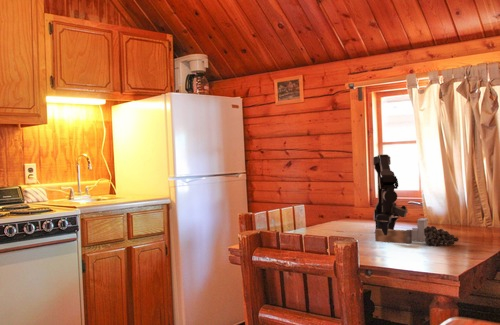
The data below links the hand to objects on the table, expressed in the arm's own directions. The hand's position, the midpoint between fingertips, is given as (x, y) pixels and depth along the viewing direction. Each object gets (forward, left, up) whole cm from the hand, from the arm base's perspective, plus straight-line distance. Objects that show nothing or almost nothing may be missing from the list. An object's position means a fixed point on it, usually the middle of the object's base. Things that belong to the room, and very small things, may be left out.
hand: (388, 233), depth 234 cm
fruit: (+23, 0, -4) cm, 24 cm away
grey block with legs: (+11, +10, -4) cm, 15 cm away
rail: (+2, 0, -4) cm, 4 cm away
